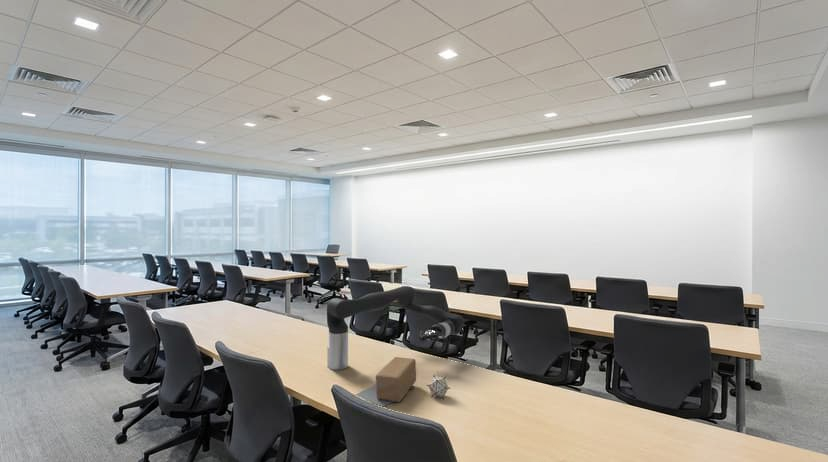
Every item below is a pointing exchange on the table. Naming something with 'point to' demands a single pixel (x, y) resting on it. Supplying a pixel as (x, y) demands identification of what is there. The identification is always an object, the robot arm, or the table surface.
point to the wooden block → (396, 379)
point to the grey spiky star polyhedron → (438, 387)
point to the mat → (371, 396)
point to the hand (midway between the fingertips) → (421, 339)
